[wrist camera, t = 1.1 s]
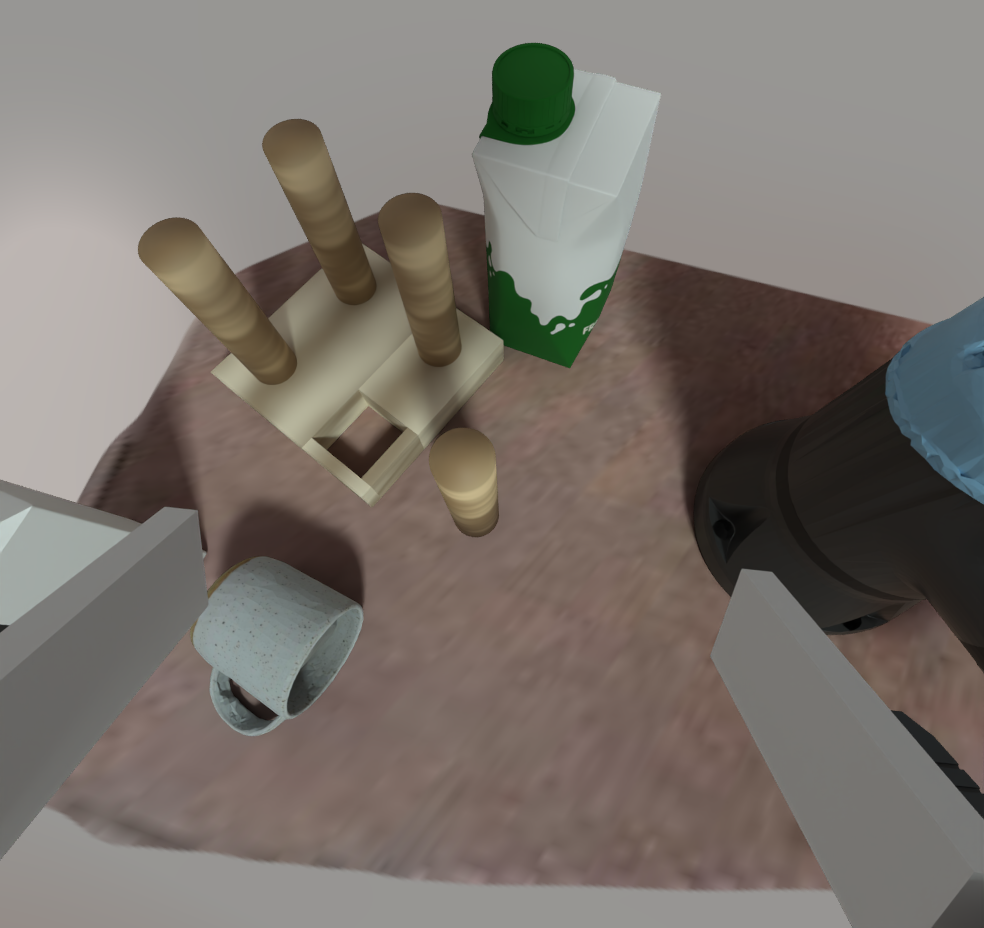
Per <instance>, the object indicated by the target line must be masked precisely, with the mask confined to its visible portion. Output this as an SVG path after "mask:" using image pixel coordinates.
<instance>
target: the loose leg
mask: <svg viewBox="0 0 984 928" xmlns="http://www.w3.org/2000/svg"><path fill="white" fill-rule="evenodd" d="M429 465H430V469H431V472H432V474H433V476H434V478H435V481H436V483H437V485H438V487H439V489H440V492H441V494H442V496H443V498H444V500H445V502H446V505H447V507H448V509H449V511H450V513H451V515H452V518H453V520H454V522H455V524H456V526H457V528H458V529H459V530H460V531H461V532H462V533H464V534H465V535H468V536H471V537H481V536H484V535H486V534H488V533H490V532H491V531H492V530H493V529H494V528H495V526H496V524H497V522H498V518H499V509H498V491H497V474H496V456H495V450H494V447H493V445H492V443H491V442H490V440H489V439H488V438H487V437H486V436H485V435H484V434H482V433H481V432H479V431H477V430H474V429H471V428H455V429H452V430H449V431H447V432H445V433H444V434H442V435H441V436H440V437H439V438H438V439H437V440H436V441H435V443H434V444H433V446H432V448H431V451H430V455H429Z"/></svg>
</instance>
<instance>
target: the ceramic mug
mask: <svg viewBox="0 0 984 928" xmlns="http://www.w3.org/2000/svg"><path fill="white" fill-rule="evenodd" d="M207 595H208V604H209V605H208V607H207V608H206V609H205V610H204V612H203V613H202V614H201V615H200V616H199V618H198V619H197V620H196V621H195V623H194V624H193V625H192V626H191V631H190V636H191V642H192V644H193V646H194V647H195V649H196V650H197V651H198V652H199V654H200V655H201V656H202V657H203V658H204V659H205V660H206V661H207V662H208V663H209V664H210V665H212V666H213V669H212V673H211V677H210V694H211V698H212V702H213V704H214V706H215V709H216V711H217V712H218V714H219V715H220V717H221V718H222V719H223V720H224V721H225V722H226V723H227V724H228V725H229V726H230V727H231V728H233V729H234V730H235V731H237V732H239V733H241V734H243V735H247V736H258V735H261V734H264V733H267V732H269V731H271V730H273V729H274V728H276V727H277V726H278V725H279V724H281V723H282V722H283V721H284V720H285V719H292V718H294V717H296V716H298V715H299V714H301V713H303V712H304V711H305V710H306V709H308V708H309V707H310V706H311V705H312V704H313V703H314V702H315V701H316V700H317V699H318V698H319V697H320V696H321V694H322V693H323V692H324V691H325V690H326V689H327V687H328V686H329V685H330V684H331V682H332V681H333V680H334V678H335V676H336V675H337V673H338V671H339V670H340V669H341V667H342V666H343V665H344V663H345V661H346V660H347V658H348V656H349V654H350V652H351V650H352V649H353V647H354V644H355V642H356V640H357V638H358V635H359V632H360V630H361V626H362V622H363V609H362V607H361V605H360V604H358V603H357V602H355V601H353V600H352V599H350V598H348V597H346V596H344V595H342V594H341V593H339V592H337V591H335V590H333V589H332V588H330V587H328V586H326V585H324V584H322V583H321V582H319V581H317V580H315V579H313V578H311V577H309V576H308V575H306V574H304V573H302V572H300V571H299V570H297V569H295V568H293V567H292V566H290V565H288V564H286V563H284V562H282V561H279V560H276V559H273V558H270V557H266V556H256V557H252V558H248V559H245V560H243V561H241V562H239V563H238V564H236V565H234V566H232V567H231V568H230V569H229V570H227V571H226V572H225V573H224V574H222V575H221V576H220V577H219V578H218V579H217V580H216V581H215V582H214V583H213V585H212V586H211V587H210V588H209V589H208V591H207ZM229 678H231V679H232V680H233V681H235V682H236V683H237V684H239V685H240V686H241V687H242V688H244V689H245V690H246V691H247V692H249V693H250V694H251V695H253V696H254V697H255V698H257V699H258V700H259V701H261V702H262V703H263V704H264V705H266V706H267V707H268V708H270V709H271V710H272V711H273V712H275V713H276V714H278V716H277V717H276V718H275V719H274V720H270V721H268V720H264V719H259V718H258V717H256V716H255V715H254V714H252V713H251V712H250V711H249V710H248V709H247V708H245V707H244V706H243V705H242V704H241V703H240V702H239V701H238V699H237V698H235V697H234V696H233V693H232V691H231V687H230V681H229Z"/></svg>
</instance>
